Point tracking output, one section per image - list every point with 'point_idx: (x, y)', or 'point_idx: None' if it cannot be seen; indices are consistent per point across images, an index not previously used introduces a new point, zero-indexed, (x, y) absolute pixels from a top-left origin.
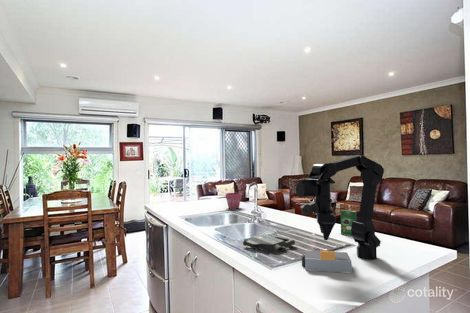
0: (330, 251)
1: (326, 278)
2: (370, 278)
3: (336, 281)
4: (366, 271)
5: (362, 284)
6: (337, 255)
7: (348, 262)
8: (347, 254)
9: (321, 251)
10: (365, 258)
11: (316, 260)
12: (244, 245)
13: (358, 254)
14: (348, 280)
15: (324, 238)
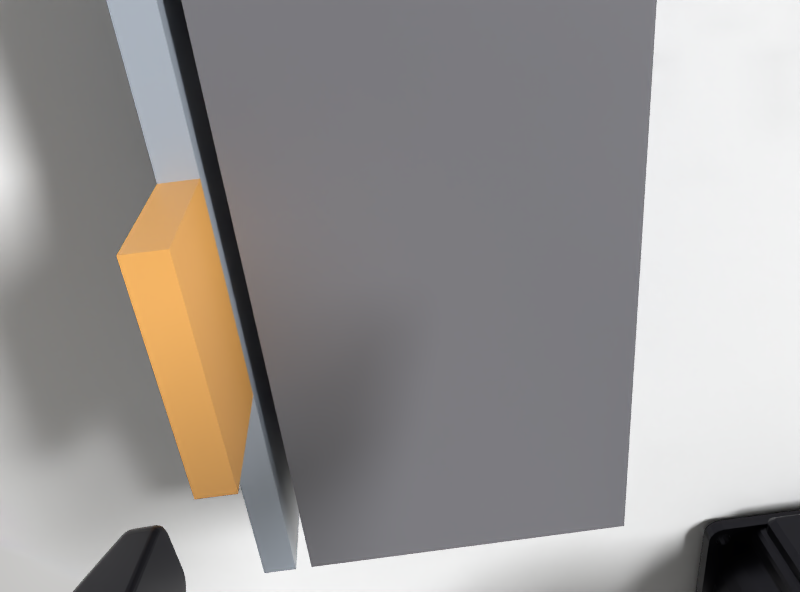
0: (196, 435)
1: (58, 187)
2: (271, 573)
3: (29, 301)
4: (438, 552)
5: (91, 517)
6: (460, 422)
7: (259, 531)
8: (538, 531)
9: (126, 277)
10: (730, 580)
11: (143, 99)
12: None
13: (792, 552)
14: (126, 412)
15: (95, 573)
